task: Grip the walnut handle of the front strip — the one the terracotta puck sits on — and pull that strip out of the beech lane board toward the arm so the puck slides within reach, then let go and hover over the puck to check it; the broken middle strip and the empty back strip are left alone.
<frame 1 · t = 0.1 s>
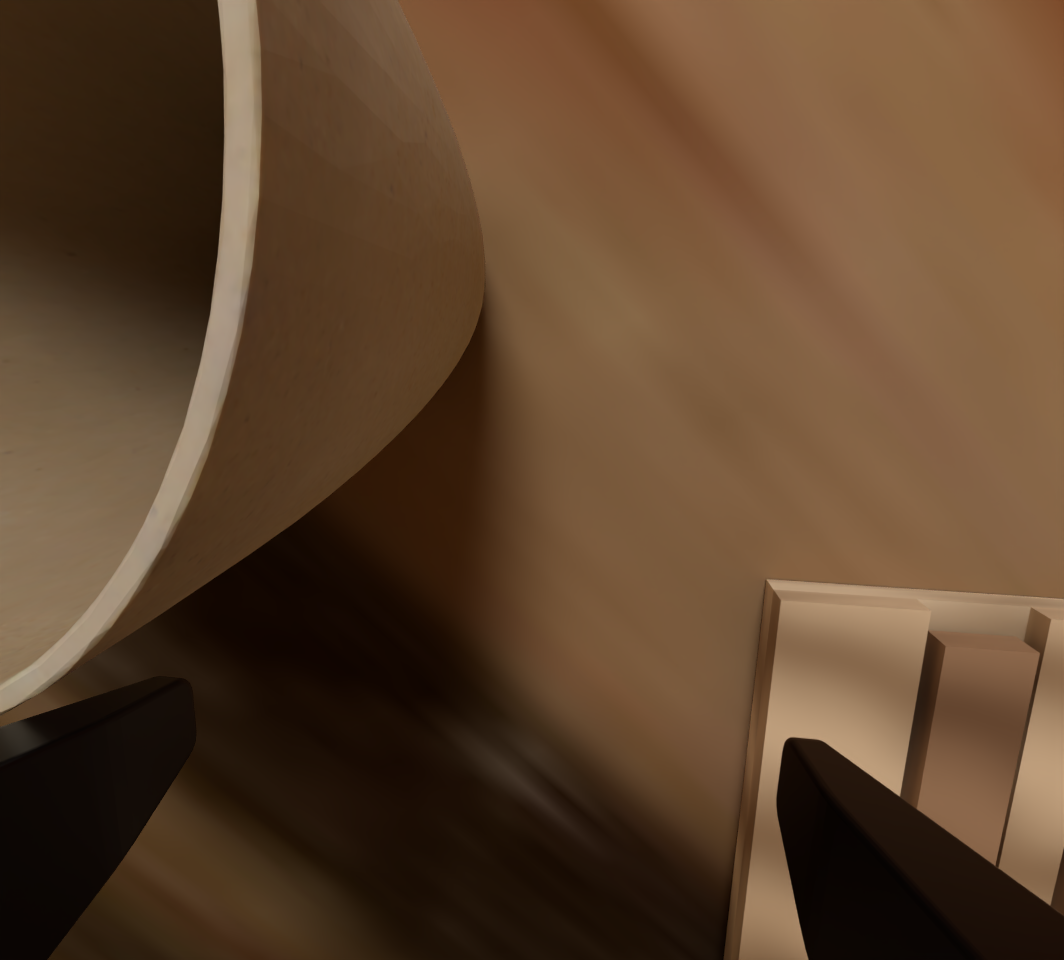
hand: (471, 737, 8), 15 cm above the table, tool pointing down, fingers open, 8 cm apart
strip b: (947, 956, 22), point 3 cm above the table, slide at 0.0 cm
plant pot: (382, 280, 22), on the table, touching gripper
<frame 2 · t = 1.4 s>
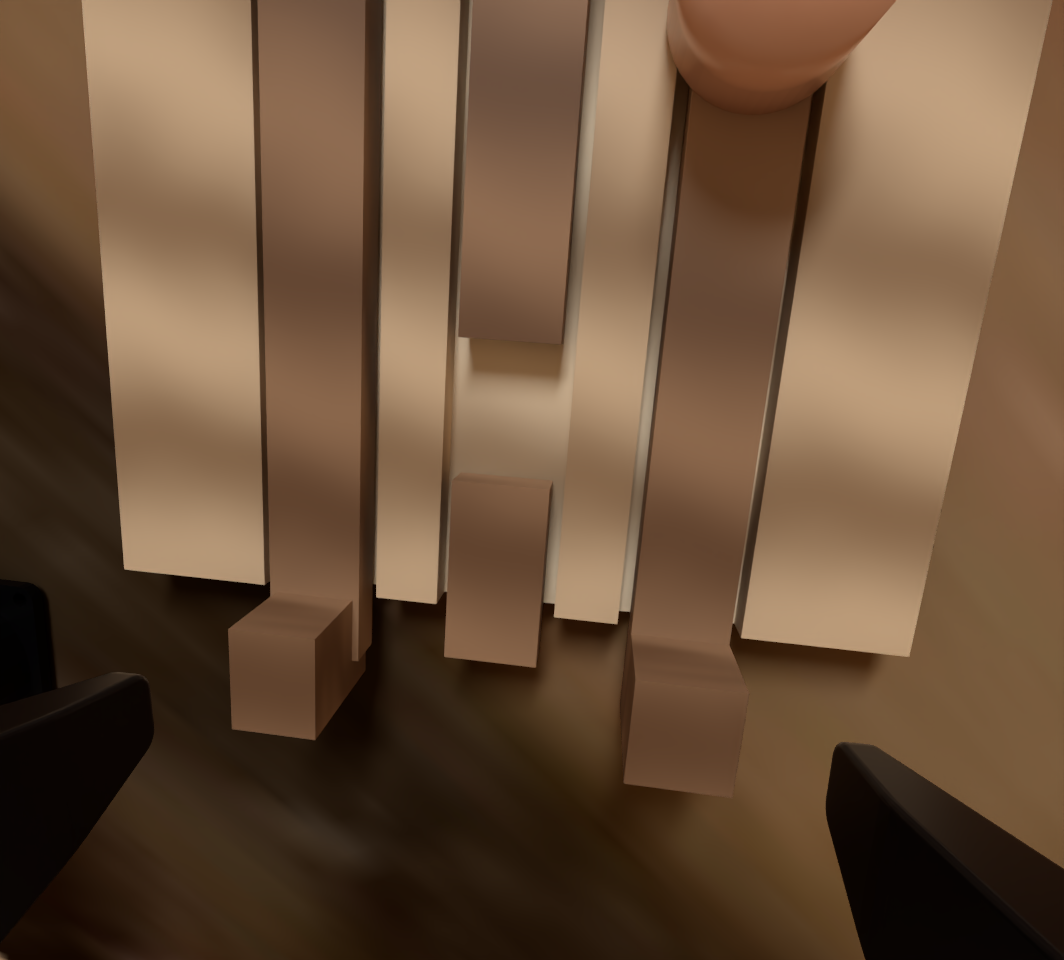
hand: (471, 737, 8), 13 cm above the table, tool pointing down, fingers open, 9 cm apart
lane board: (524, 272, 19), on the table
strip a: (721, 359, 16), point 3 cm above the table, slide at 0.1 cm, touching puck
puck: (762, 11, 15), point 2 cm above the table, touching strip a
strip b: (301, 325, 17), point 3 cm above the table, slide at 0.0 cm
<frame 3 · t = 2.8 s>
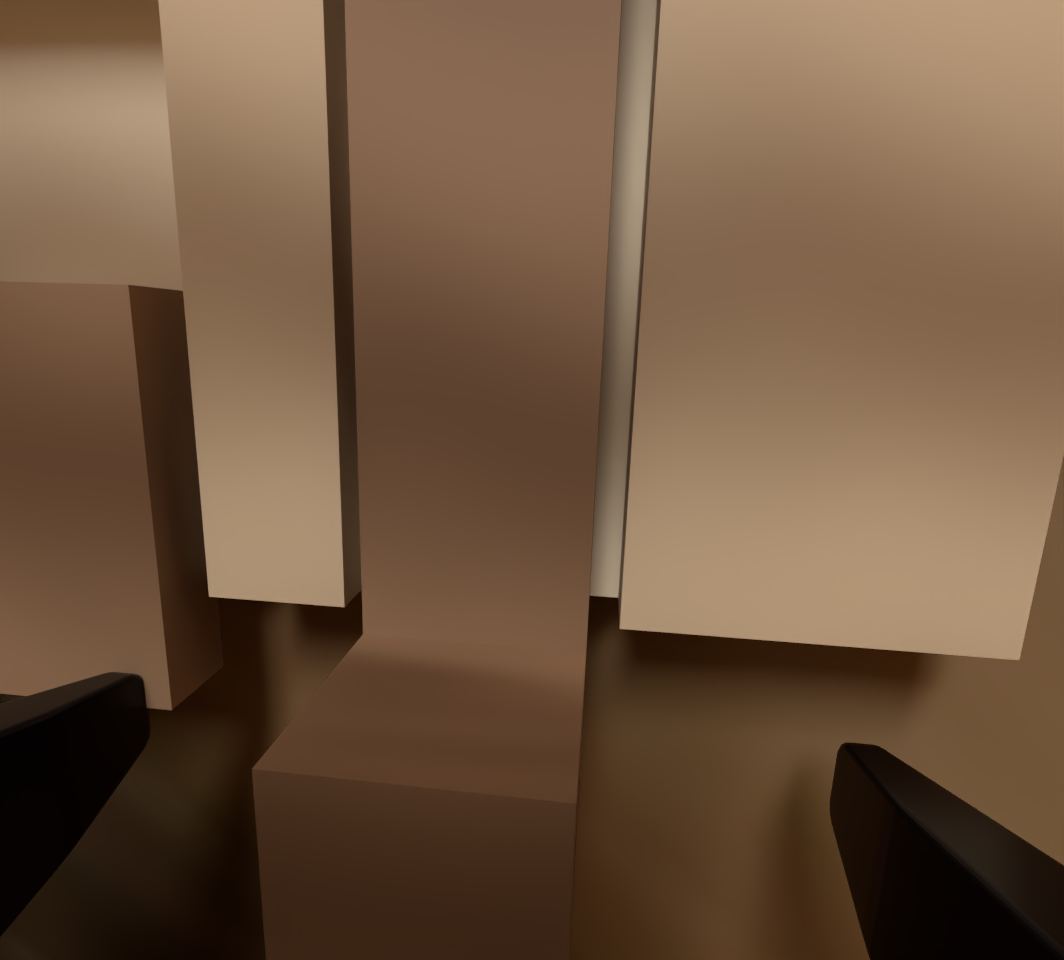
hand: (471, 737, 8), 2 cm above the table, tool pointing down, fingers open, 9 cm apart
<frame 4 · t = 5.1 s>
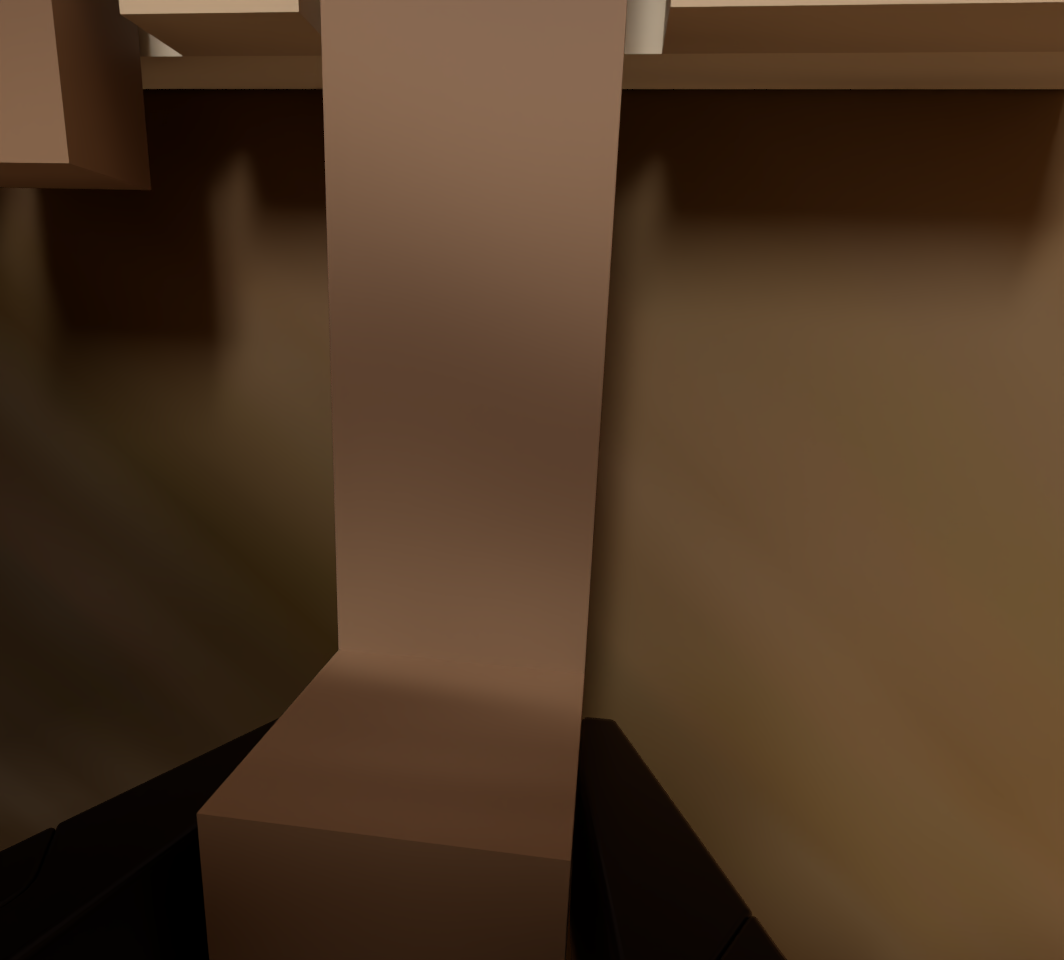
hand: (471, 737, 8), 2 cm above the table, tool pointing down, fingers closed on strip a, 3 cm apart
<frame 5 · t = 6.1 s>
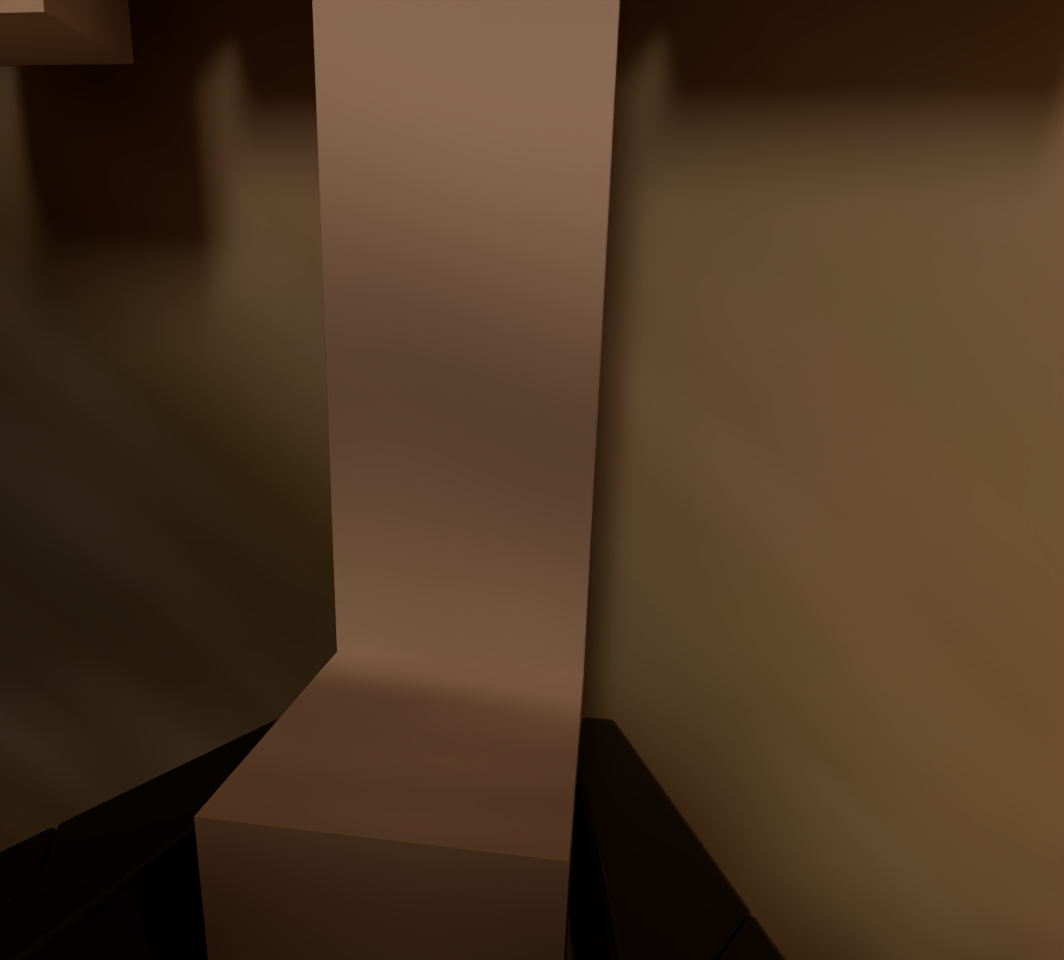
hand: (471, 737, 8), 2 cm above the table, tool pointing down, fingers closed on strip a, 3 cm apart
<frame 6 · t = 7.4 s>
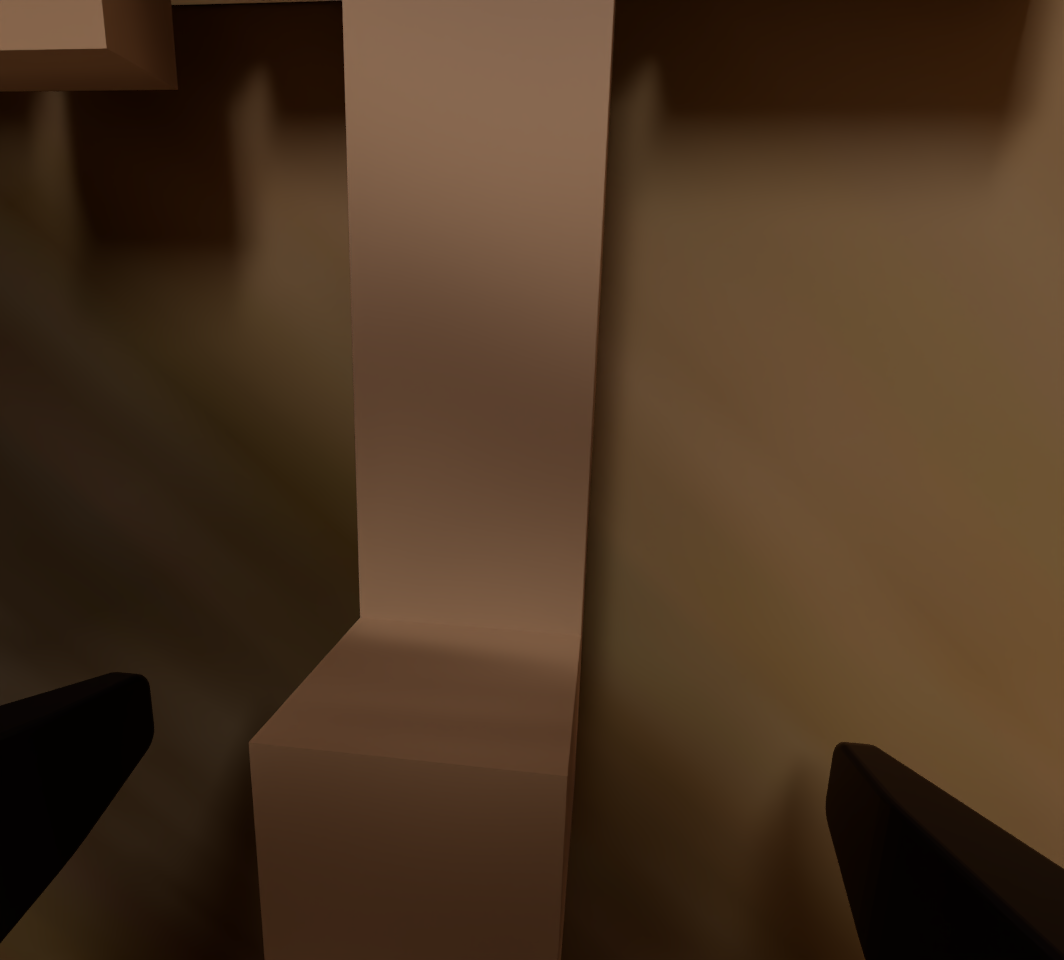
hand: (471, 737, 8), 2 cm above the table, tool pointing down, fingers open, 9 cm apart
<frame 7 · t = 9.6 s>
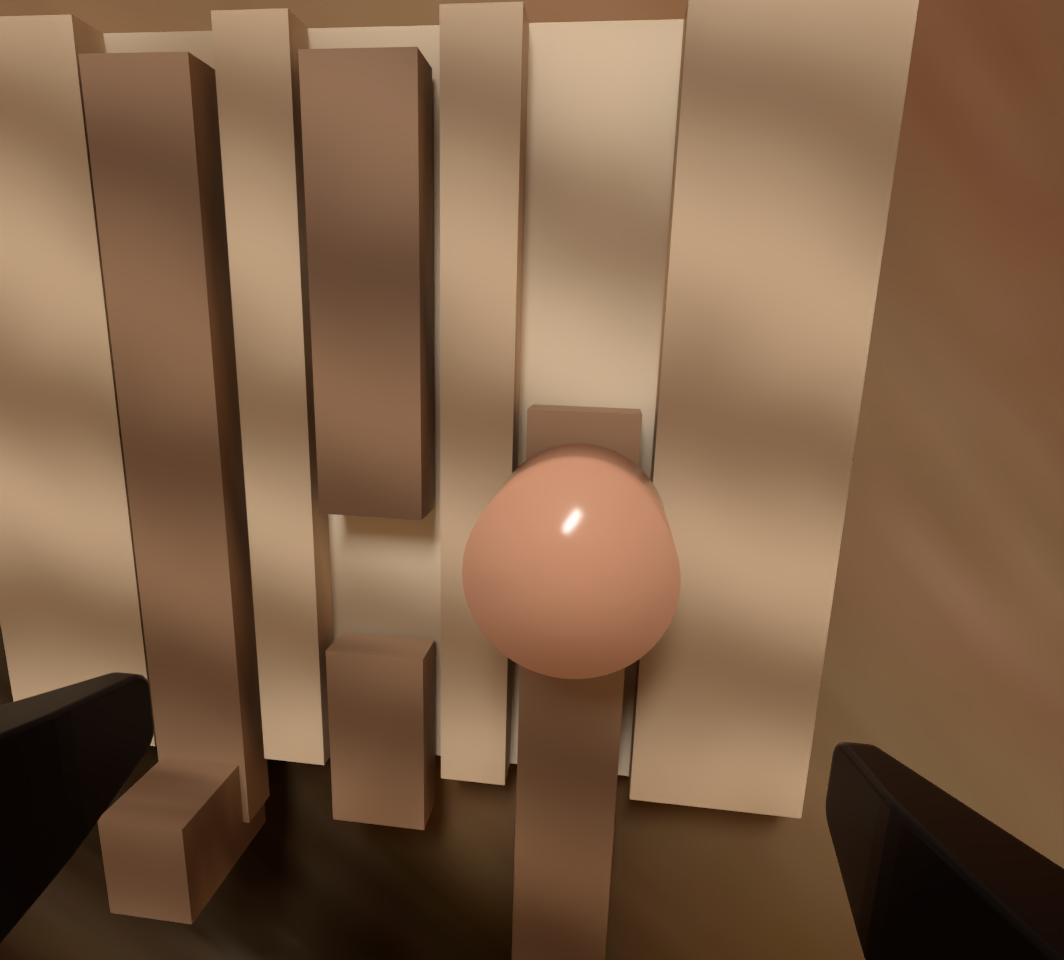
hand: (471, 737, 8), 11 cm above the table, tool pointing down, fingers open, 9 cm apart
lane board: (398, 428, 19), on the table
strip a: (563, 819, 17), point 3 cm above the table, slide at 8.0 cm, touching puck
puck: (578, 528, 16), point 2 cm above the table, touching strip a
strip b: (158, 510, 17), point 3 cm above the table, slide at 0.0 cm
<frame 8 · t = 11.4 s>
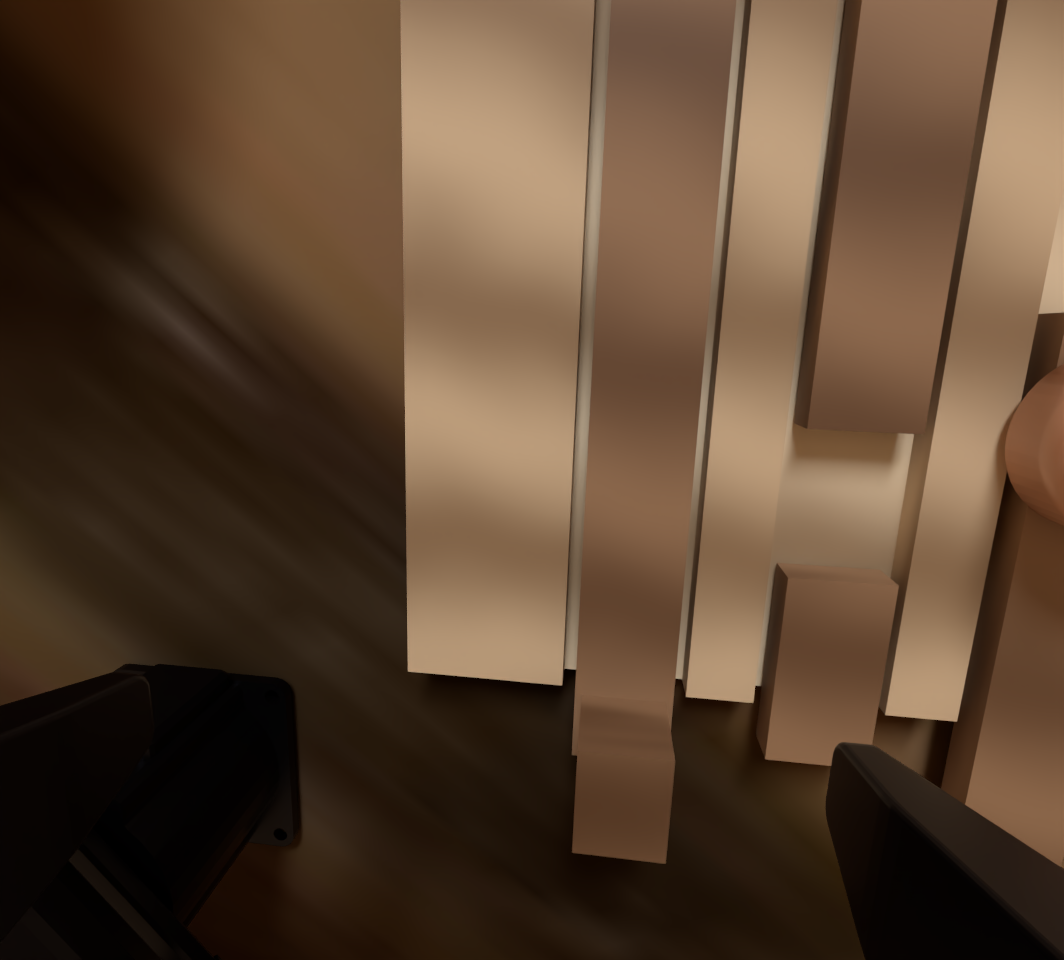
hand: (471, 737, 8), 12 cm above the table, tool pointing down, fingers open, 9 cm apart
lane board: (842, 348, 18), on the table
strip a: (1053, 752, 17), point 3 cm above the table, slide at 8.0 cm, touching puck
strip b: (644, 424, 16), point 3 cm above the table, slide at 0.0 cm
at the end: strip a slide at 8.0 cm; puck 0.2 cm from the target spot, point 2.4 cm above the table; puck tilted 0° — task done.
